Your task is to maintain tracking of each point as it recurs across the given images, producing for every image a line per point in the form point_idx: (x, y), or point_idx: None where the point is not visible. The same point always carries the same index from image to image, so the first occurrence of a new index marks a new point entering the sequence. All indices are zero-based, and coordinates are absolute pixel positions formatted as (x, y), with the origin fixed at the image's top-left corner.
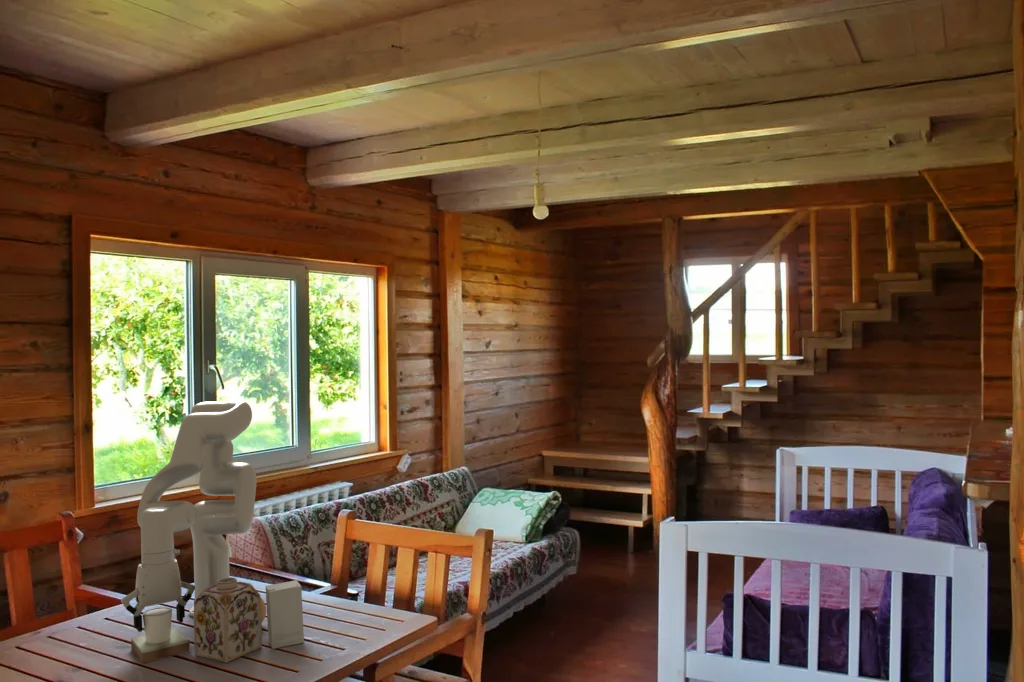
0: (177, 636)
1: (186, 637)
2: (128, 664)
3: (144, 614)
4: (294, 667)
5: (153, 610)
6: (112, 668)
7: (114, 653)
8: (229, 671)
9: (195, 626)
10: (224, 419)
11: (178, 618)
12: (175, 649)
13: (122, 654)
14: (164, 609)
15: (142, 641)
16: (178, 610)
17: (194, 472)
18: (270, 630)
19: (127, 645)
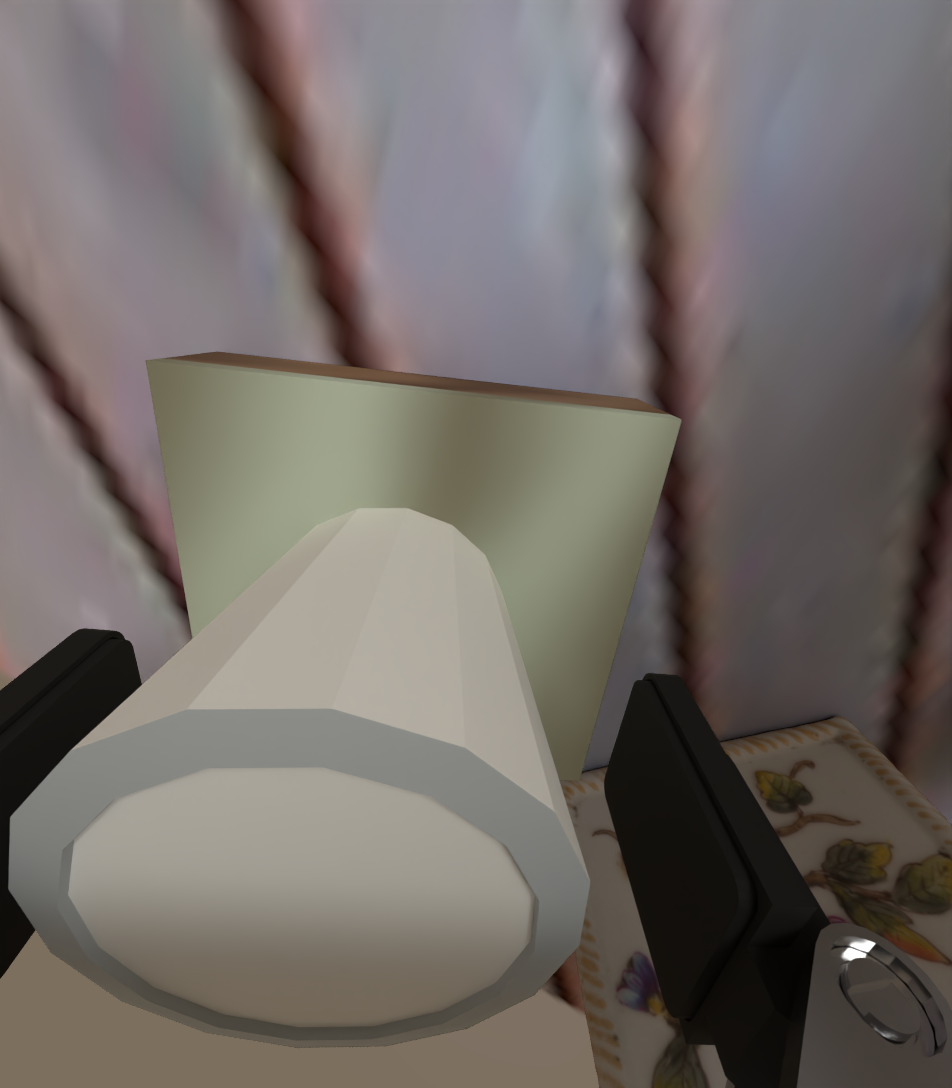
0: (550, 662)
1: (588, 731)
2: (164, 639)
3: (43, 920)
4: None
5: (255, 821)
6: (54, 631)
7: (57, 301)
8: (559, 982)
9: (594, 1031)
10: None
11: (628, 771)
12: None
13: (132, 395)
14: (466, 892)
15: (249, 559)
16: (666, 906)
17: None
18: None
19: (198, 135)
